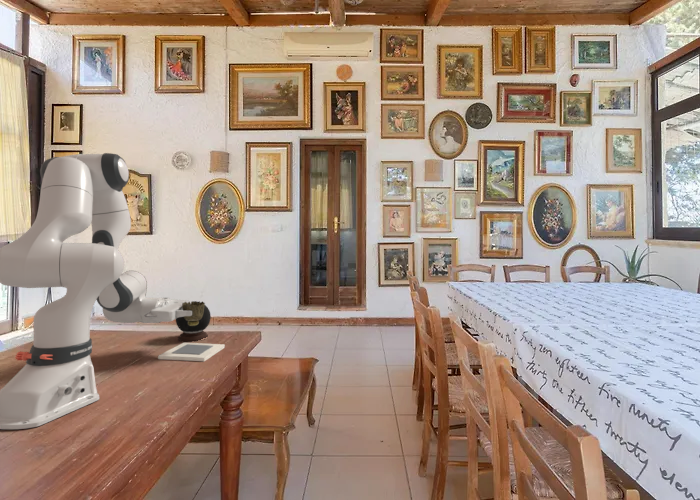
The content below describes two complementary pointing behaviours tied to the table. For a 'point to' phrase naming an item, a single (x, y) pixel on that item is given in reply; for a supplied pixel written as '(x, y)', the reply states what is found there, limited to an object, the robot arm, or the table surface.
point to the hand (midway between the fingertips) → (196, 310)
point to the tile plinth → (192, 352)
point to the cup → (194, 312)
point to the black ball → (193, 327)
